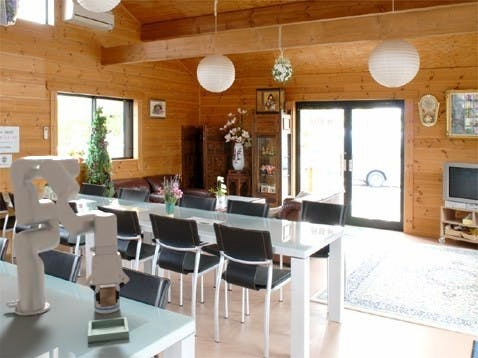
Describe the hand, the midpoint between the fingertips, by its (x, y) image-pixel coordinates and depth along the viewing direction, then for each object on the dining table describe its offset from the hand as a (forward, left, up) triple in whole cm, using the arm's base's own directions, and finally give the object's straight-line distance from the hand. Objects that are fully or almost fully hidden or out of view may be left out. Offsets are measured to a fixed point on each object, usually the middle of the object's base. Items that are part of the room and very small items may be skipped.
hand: (107, 301), depth 161 cm
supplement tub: (0, +23, -11) cm, 26 cm away
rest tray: (0, 0, -11) cm, 11 cm away
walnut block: (0, 0, -1) cm, 1 cm away
